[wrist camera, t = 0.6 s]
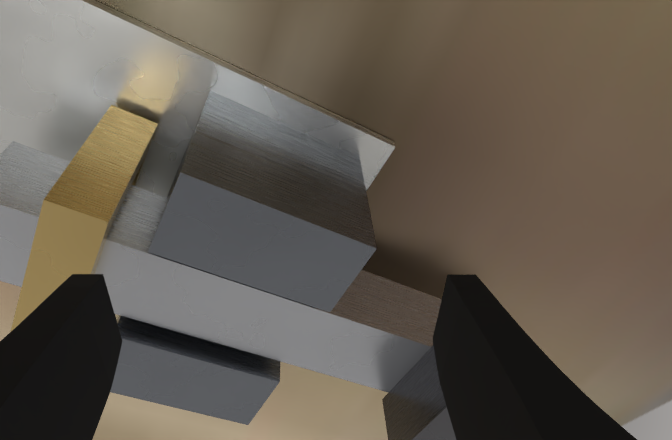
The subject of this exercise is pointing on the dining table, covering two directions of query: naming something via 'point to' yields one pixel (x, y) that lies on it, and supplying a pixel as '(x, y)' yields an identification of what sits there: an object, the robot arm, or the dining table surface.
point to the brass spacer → (84, 206)
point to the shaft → (246, 303)
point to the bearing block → (199, 179)
